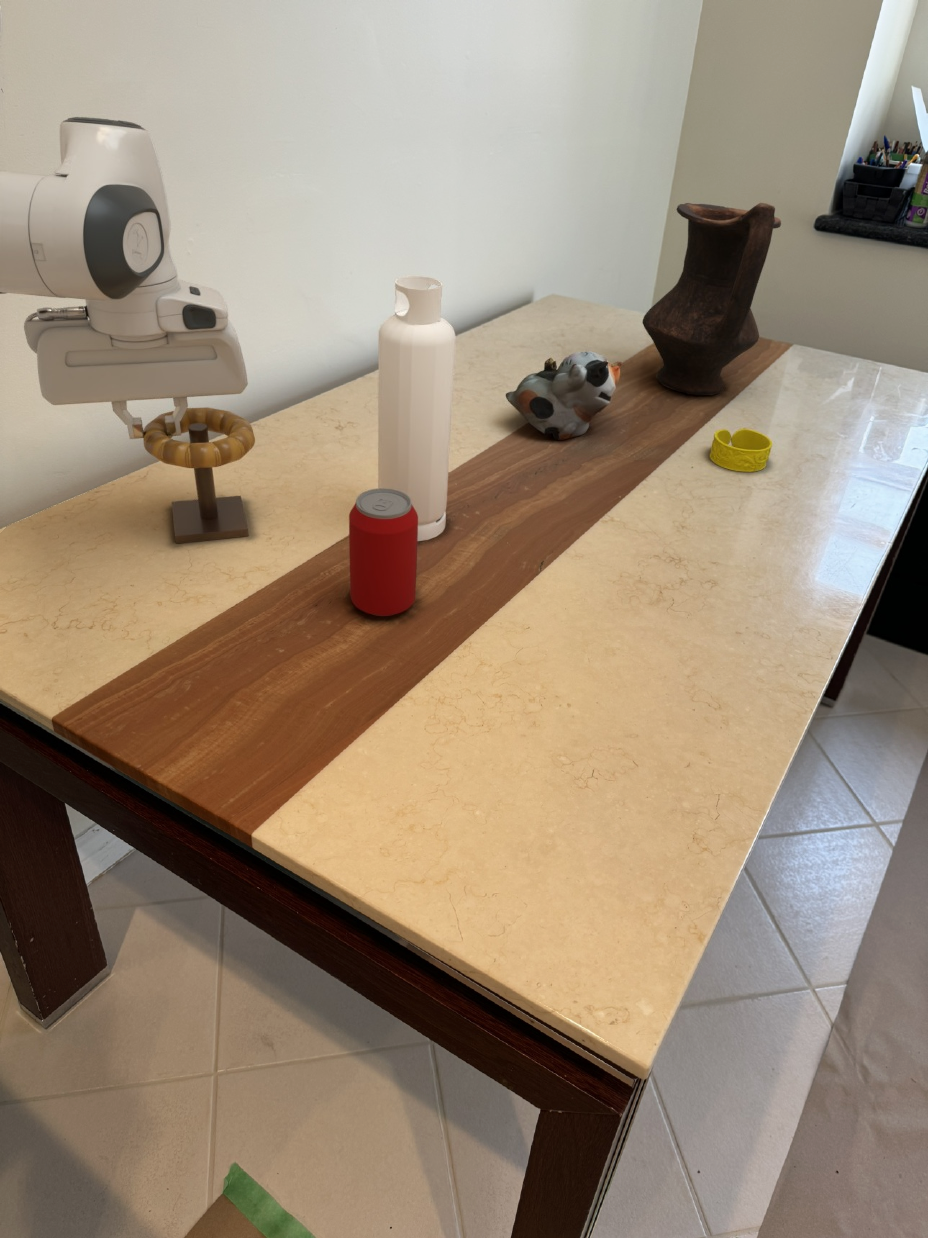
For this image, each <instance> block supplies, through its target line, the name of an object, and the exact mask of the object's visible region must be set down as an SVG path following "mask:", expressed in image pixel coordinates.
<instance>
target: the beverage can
mask: <svg viewBox="0 0 928 1238" xmlns="http://www.w3.org/2000/svg"><path fill="white" fill-rule="evenodd" d="M348 537H349V538H348V545H349V547H348V548H349V553H348V554H349V587H350V589H349V591H350V600H351V602H352V604H353V605H354V606H355V607H356V608H357V609H358V610H360V611H362V612H363V613H366V614H369V615H373V616H377V617H389V616H390V617H391V616H394V615H397V614H401V613H404V612H405V611H407V610H408V609H409V608H411V607H412V605H413V604H414V603H415V601H416V589H417V569H418V568H417V567H418V542H419V541H418V515H417V512H416V510H415V509H414V507H413V505H412V504H411V499H410V498H409V496H408V495H406V494H405V493H403V492H401V491H398V490H394V489H388V488H378V487H377V488H372V489H368V490H365V491H364V492H361V493H360V494H359V495H358V496H357V497H356V499H355V503H354V505H353V506H352V508H351V510H350V512H349V515H348Z"/></svg>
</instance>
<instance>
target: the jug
mask: <svg viewBox="0 0 928 1238" xmlns="http://www.w3.org/2000/svg"><path fill="white" fill-rule="evenodd" d="M676 212H677V214H679V215H680V216H681V217H682V218H684V219H686V220H687V245H686V251H685V255H684V259H683V267H682V271H681V274H680V276H679V279H678V280H677V282H676V284H675V285H674V286H673V287H672V288H671V289H670V290H669V291H668V292H667V293H666V294H665V295H664V296H662V297H661V298H660V299H659V300H658V301H657V302H655V303H654V304H653V306H651V307H650V308H649V310H647V311H646V313H645V314H644V316H643V319H642V325H643V328H644V329H645V331H646V332H647V335H648V336H649V337H650V338H651V341H652V342H653V344H654V346H655V348H656V350H657V352H658V354H659V355H660V357H661V360H662V363H663V365H662V366H661V368H659V370H658V371H657V374H656V375H655V377H656V380H657V381H658V383H660V384H662V386H664V387H666V388H667V389H671V390H674V391H676V392H680V393H684V394H687V395H696V396H713V395H716V394H721V393H719V392H720V391H722V390H723V389H724V387H725V382H724V380H723V378H722V375H721V374H722V371H723V369H724V368H725V367H726V366H727V365H729V364H731V362H732V361H734V360H735V359H736V358H738V357H740V355H742V354H743V353H745V352H747V351H749V349H750V350H751V348H752V347H754V346H755V345H756V344H757V342H759V338H760V332H759V327H758V325H757V321H756V319H755V316H754V313H753V311H752V308H751V307H752V304H753V300H754V297H755V294H756V290H757V287H758V284H759V281H760V277H761V275H762V272H763V269H764V267H765V263H766V260H767V258H768V257H767V256H768V253H769V249H770V245H771V242H772V237H773V231H774V229H778V228H779V229H780V228H781V226H782V221H781V219H780V218H778V217H776V216H775V214H776V213H775V212H776V207H775V205H772V204H769V203H765V202H759V203H757V204H756V205H754V206H753V207H751V208H750V209H749V210H748V209H740V208H733V207H728V206H727V207H725V206H722V205H715V204H708V203H706V204H705V203H690V202H686V203H680V204H678V205H677V207H676Z"/></svg>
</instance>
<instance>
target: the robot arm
mask: <svg viewBox="0 0 928 1238" xmlns="http://www.w3.org/2000/svg"><path fill="white" fill-rule="evenodd" d="M2 11H3V9H2V5H1V3H0V47H1V45H2V40H3V12H2ZM59 151H60V152H59V153H60V162H61V164H60V165H59V166H58V168H57V169H55V170H54V171H53V174H45V173H34V172H23V171H10V170H2V169H1V170H0V295H4V294H6V295H7V294H13V295H15V294H16V295H26V296H36V297H37V296H38V297H47V298H48V297H49V298H59V299H77V300H84V301H85V305H84V306H83V305H79V306H65V307H56V308H55V307H54V308H52V307H40V308H37V309H36V312H33V313H31V314H29V315H28V316H27V317H26V318H25V320H24V323H23V331H24V335H25V339H26V343H27V346H28V347H29V348H30V350H31V351H32V352H33V353H35V354H36V362H37V363H36V364H37V374H38V382H39V388H40V393H41V396H42V397H43V399H45V400H46V401H47V402H48V403H49V404H51V405H53V406H63V405H64V406H65V405H81V404H95V403H96V404H97V403H111V407H112V412H113V413H114V414H115V415H116V416H117V418H119V419H120V421H122V422H123V424H124V425H125V426H127V431H128V432H127V433H128V438H129V440H136V439H143V438H144V427H143V419H142V417H141V416H140V417H139V416H138V417H134V416H133V415H132V414H131V413H130V411H129V410H128V401H129V402H130V401H145V400H148V401H149V400H162V399H163V400H164V399H172V400H173V406H174V407H175V408H174V410H173V411H174V412H173V414H172V415H168V416H165V424H166V429H167V436H173V437H176V436H177V437H179V436H182V434H181V428H180V421H181V419H182V417H183V415H184V413H185V411H186V409H187V408H189V403H188V398H195V397H212V396H213V397H214V396H227V395H229V396H230V395H241V394H242V393H243V392H244V391H245V390H246V388H247V386H248V384H249V382H248V375H247V369H246V363H245V358H244V355H243V351H242V347H241V343H240V340H239V338H238V335H237V332H236V329H235V327H234V325H233V323H232V322H231V321H230V320H229V308H228V304H227V301H226V300H225V297H224V295H223V294H222V293H221V292H220V291H219V290H217V289H214V288H211V287H207V286H204V285H201V284H200V285H199V284H197V283H193V282H189V281H186V280H183V279H180V278H179V277H178V270H177V266H176V263H175V261H174V259H173V256H172V252H171V248H170V238H171V237H170V236H171V230H172V225H171V216H170V215H171V214H170V208H169V202H168V196H167V191H166V185H165V181H164V177H163V172H162V167H161V164H160V160H159V156H158V153H157V150H156V147H155V144H154V141H153V138H152V135H151V133H150V132H149V131H148V130H147V129H145V128H144V127H142V125H140V124H137V123H136V122H131V121H127V120H115V119H109V118H99V117H87V116H74V117H73V116H72V117H68V118H67V119H65V120H63V121H61V122H60V124H59ZM176 434H177V435H176Z"/></svg>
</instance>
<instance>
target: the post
mask: <svg viewBox="0 0 928 1238" xmlns="http://www.w3.org/2000/svg"><path fill="white" fill-rule="evenodd" d="M188 430H189V432H188V437H189V443H208V442H210V438H209V437H210V436H209V431H208V429H207V425H205V424H203V423H194V424H191V425H189V427H188ZM213 469H214V468H213V467H209V468H193V473H194V480H195V487H196V495H197V499H186V500H177V501H175V500H174V501H171V509H172V521H173V532H174V539H175V544H186V543H195V542H205V541H215V540H224V539H234V538H235V539H236V538H244V537H245V538H246V537H249V536H250V533H249V527H248V522H247V517H246V512H245V509H244V504H243V499H242V496H241V495H232V496H221V497H217V495H216V486H215V479H214V470H213Z"/></svg>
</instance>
